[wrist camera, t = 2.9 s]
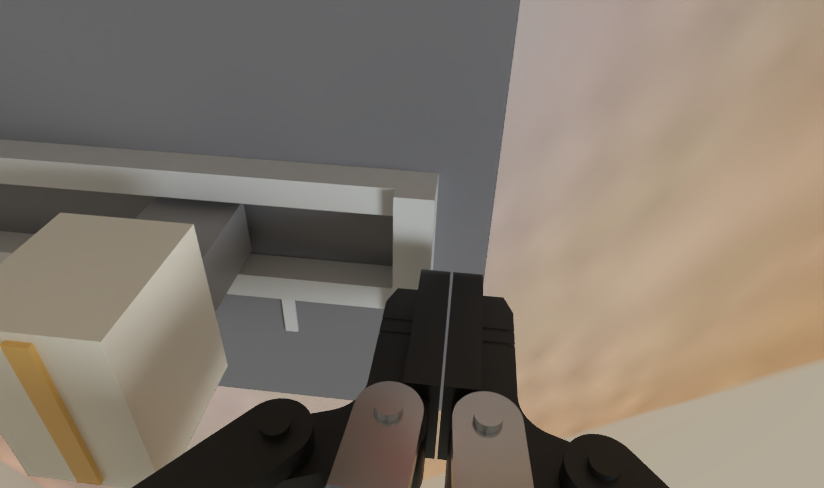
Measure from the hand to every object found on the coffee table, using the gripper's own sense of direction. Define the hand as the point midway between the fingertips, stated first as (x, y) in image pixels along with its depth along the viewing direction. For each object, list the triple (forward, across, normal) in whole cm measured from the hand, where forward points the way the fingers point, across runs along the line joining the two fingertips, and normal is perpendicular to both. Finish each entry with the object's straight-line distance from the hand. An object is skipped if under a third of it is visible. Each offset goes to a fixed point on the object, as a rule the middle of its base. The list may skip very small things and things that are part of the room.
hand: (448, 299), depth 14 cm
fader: (+2, +7, 0) cm, 7 cm away
